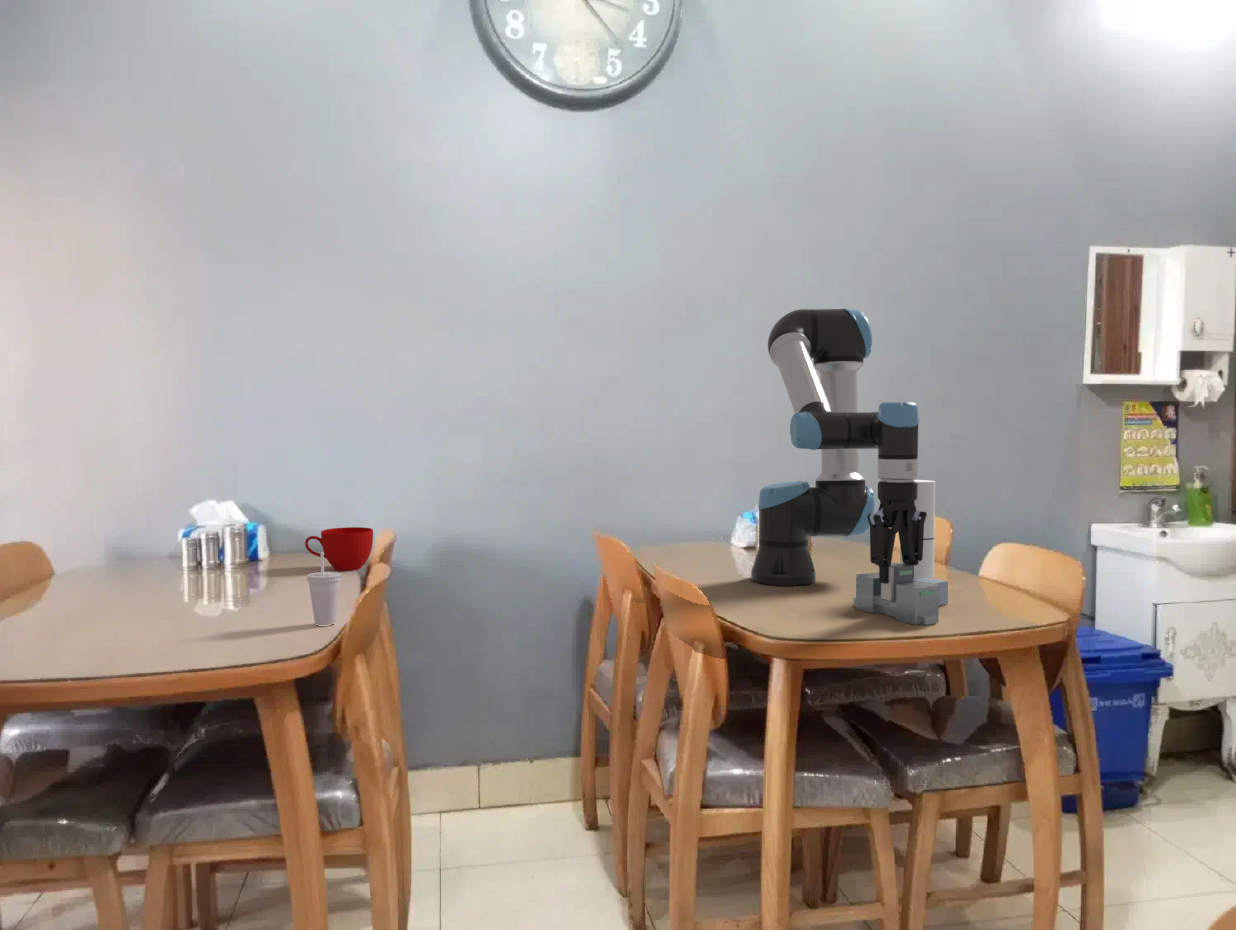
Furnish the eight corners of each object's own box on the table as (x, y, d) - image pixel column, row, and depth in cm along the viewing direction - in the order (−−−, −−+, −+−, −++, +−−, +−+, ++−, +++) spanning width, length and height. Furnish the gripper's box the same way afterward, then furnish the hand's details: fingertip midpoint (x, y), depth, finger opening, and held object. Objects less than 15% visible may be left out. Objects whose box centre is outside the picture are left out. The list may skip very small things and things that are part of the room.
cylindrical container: (935, 597, 202) (937, 482, 200) (901, 596, 203) (902, 482, 202) (931, 591, 209) (933, 479, 207) (898, 590, 210) (899, 479, 209)
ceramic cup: (306, 566, 245) (305, 529, 245) (372, 563, 250) (371, 526, 250) (305, 575, 233) (304, 535, 232) (375, 571, 238) (374, 532, 237)
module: (881, 599, 186) (881, 564, 186) (896, 597, 188) (896, 562, 187) (898, 603, 182) (898, 567, 181) (913, 601, 184) (913, 565, 183)
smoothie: (330, 619, 184) (328, 548, 183) (349, 623, 180) (347, 551, 179) (301, 624, 179) (299, 552, 178) (320, 629, 175) (318, 555, 174)
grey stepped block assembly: (847, 606, 194) (848, 572, 193) (870, 603, 196) (870, 570, 196) (918, 626, 176) (919, 589, 175) (942, 622, 178) (942, 586, 178)
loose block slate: (912, 603, 196) (913, 580, 196) (927, 600, 199) (927, 577, 199) (933, 607, 192) (934, 583, 192) (947, 604, 195) (948, 580, 195)
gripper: (877, 483, 177) (876, 605, 178) (944, 480, 184) (942, 597, 185) (850, 480, 183) (849, 598, 184) (916, 477, 191) (914, 591, 192)
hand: (896, 598), depth 185 cm, fingers closed on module, 4 cm apart
